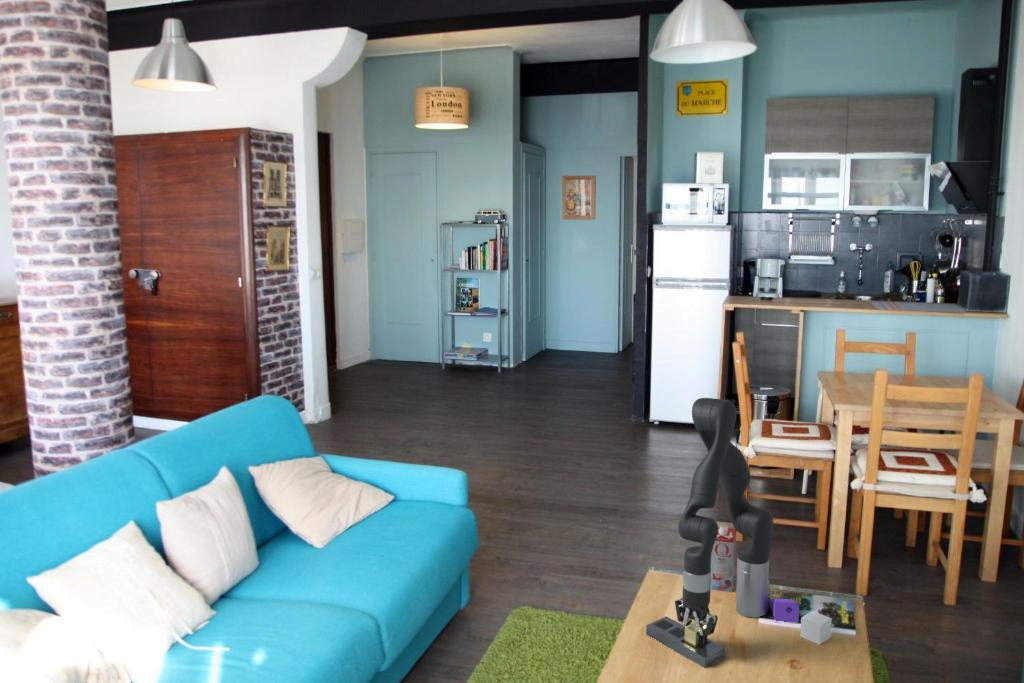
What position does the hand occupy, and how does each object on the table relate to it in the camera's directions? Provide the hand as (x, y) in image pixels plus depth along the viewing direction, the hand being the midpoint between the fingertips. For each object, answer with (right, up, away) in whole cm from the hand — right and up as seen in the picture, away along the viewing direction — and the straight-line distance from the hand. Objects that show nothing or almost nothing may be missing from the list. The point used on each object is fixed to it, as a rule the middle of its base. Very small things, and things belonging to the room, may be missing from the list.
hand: (695, 641), depth 237 cm
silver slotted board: (-2, -2, +4) cm, 5 cm away
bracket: (+32, +1, +21) cm, 38 cm away
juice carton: (+17, +4, +39) cm, 43 cm away
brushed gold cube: (0, -1, 0) cm, 1 cm away
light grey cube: (+36, -1, +7) cm, 37 cm away
